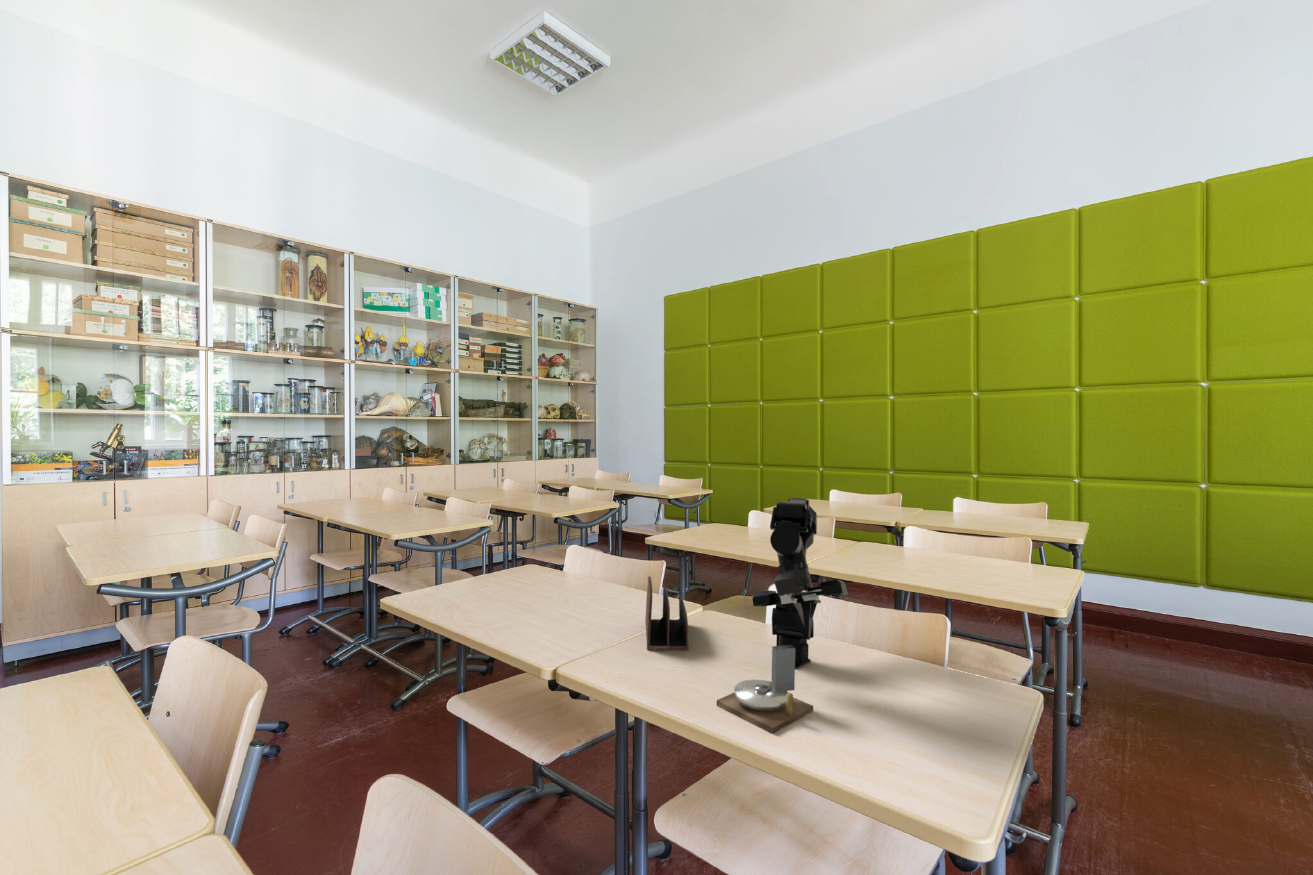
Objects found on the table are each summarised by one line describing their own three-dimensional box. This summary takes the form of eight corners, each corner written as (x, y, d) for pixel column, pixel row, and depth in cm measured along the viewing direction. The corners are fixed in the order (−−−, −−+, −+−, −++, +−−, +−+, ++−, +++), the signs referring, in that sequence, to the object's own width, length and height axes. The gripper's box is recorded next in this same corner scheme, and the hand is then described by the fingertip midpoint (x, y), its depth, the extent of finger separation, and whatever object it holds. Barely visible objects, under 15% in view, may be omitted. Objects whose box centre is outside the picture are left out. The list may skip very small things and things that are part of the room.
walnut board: (716, 705, 104) (717, 681, 104) (757, 686, 113) (758, 664, 113) (772, 733, 95) (772, 707, 95) (813, 711, 103) (813, 686, 103)
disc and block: (747, 712, 98) (748, 661, 98) (726, 688, 107) (727, 641, 107) (805, 706, 100) (806, 656, 100) (780, 683, 110) (781, 637, 110)
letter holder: (646, 651, 131) (648, 592, 131) (645, 623, 151) (646, 572, 151) (688, 651, 131) (689, 592, 131) (681, 623, 151) (682, 572, 151)
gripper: (737, 564, 114) (750, 644, 108) (827, 548, 106) (845, 633, 100) (755, 568, 123) (768, 642, 117) (839, 553, 115) (857, 632, 110)
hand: (807, 637), depth 111 cm, fingers closed
